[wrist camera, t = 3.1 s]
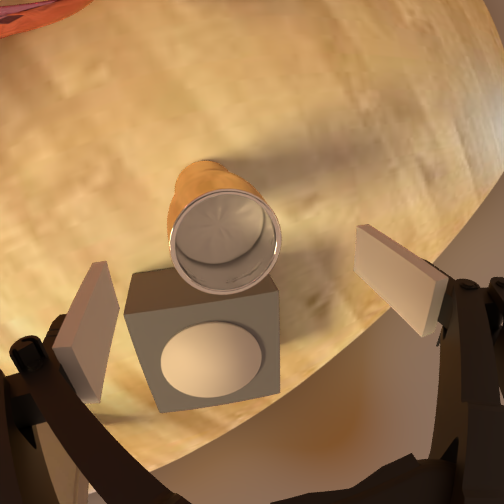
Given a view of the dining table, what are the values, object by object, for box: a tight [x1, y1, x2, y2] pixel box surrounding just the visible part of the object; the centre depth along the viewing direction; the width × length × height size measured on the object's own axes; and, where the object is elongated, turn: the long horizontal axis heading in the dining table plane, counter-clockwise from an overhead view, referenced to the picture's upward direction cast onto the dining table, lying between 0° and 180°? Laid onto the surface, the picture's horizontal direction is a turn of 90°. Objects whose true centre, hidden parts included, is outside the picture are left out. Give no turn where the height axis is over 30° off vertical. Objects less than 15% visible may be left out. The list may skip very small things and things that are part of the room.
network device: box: [36, 422, 89, 504], centre depth 29 cm, size 26×9×20 cm, turn 87°
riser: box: [124, 268, 280, 413], centre depth 34 cm, size 14×14×8 cm
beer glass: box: [167, 160, 282, 295], centre depth 25 cm, size 7×7×15 cm
